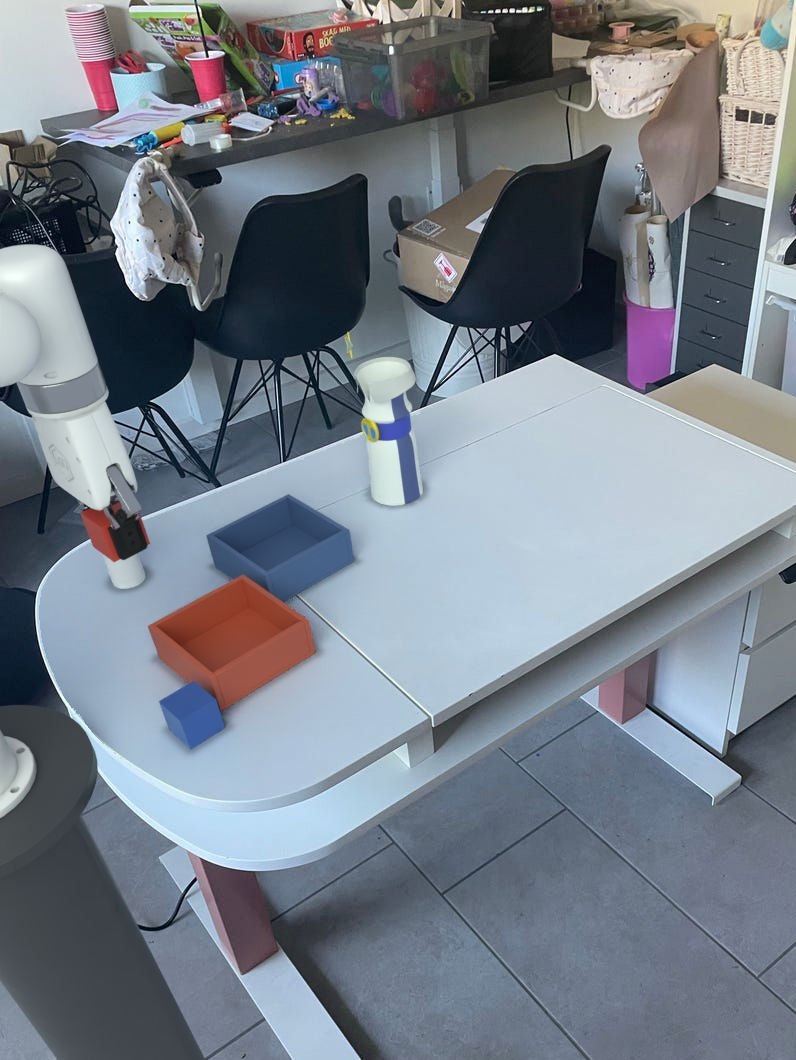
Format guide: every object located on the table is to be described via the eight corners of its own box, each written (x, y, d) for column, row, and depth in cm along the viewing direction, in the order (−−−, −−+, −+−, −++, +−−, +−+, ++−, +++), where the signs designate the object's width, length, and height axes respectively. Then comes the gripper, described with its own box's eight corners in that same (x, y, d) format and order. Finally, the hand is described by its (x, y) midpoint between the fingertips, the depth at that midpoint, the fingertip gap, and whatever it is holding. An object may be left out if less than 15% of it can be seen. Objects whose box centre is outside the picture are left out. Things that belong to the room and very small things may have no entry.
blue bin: (273, 608, 119) (265, 575, 116) (214, 566, 126) (205, 535, 123) (354, 561, 126) (349, 529, 123) (294, 524, 133) (288, 493, 130)
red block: (114, 562, 99) (100, 528, 96) (93, 547, 101) (79, 512, 98) (150, 544, 101) (138, 509, 98) (129, 529, 103) (117, 495, 100)
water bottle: (394, 514, 134) (373, 346, 118) (357, 493, 139) (332, 329, 123) (437, 491, 138) (422, 326, 122) (400, 471, 143) (381, 310, 127)
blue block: (190, 749, 101) (180, 721, 98) (169, 729, 103) (158, 701, 100) (225, 727, 103) (216, 699, 100) (203, 708, 106) (193, 680, 103)
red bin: (221, 711, 105) (210, 678, 102) (159, 658, 113) (147, 625, 109) (316, 652, 112) (309, 619, 109) (251, 606, 119) (243, 573, 116)
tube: (106, 581, 125) (69, 484, 115) (132, 565, 127) (98, 469, 118) (126, 592, 123) (90, 494, 113) (152, 576, 125) (119, 478, 116)
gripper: (-14, 376, 91) (51, 531, 103) (70, 428, 82) (131, 592, 94) (57, 349, 95) (112, 502, 107) (145, 397, 86) (194, 558, 98)
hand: (120, 542), depth 101 cm, fingers closed on red block, 4 cm apart
